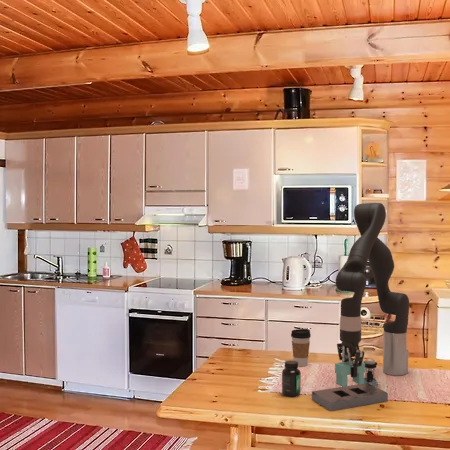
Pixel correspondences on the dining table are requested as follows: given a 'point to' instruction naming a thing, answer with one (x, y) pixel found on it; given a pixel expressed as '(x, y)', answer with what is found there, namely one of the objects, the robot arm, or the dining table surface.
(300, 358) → the coffee cup
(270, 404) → the dining table surface
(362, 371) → the mint green notched block
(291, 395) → the supplement bottle
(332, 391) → the grey slotted board
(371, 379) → the push button
